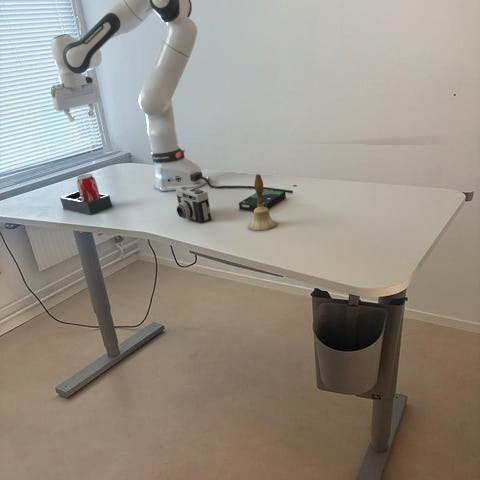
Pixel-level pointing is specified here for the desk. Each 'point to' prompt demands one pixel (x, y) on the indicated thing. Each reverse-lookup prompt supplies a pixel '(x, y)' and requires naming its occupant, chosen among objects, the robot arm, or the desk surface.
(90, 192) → the soda can
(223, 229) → the desk surface
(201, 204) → the camera
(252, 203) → the disk drive
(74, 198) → the open box
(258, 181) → the hand bell
